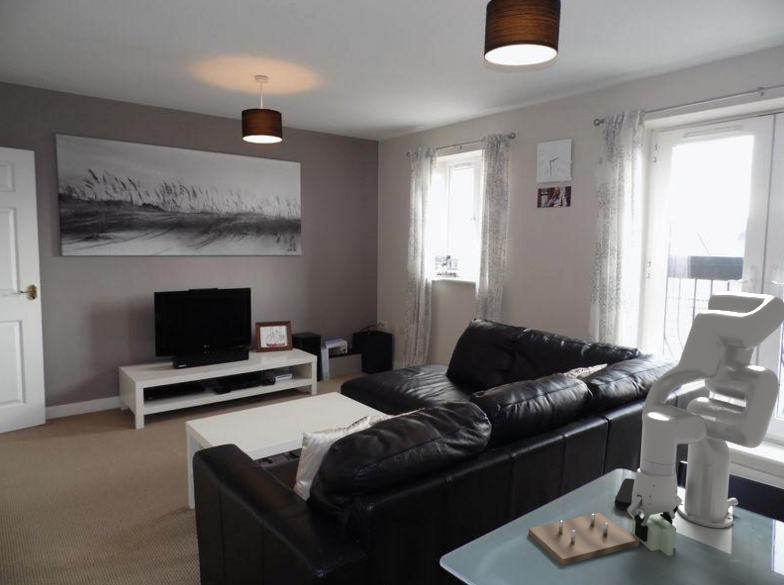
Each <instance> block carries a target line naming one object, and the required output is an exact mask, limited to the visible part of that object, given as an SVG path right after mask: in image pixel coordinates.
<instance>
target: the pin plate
mask: <svg viewBox="0 0 784 585" xmlns="http://www.w3.org/2000/svg"><path fill="white" fill-rule="evenodd" d="M527 534H528V535H529V536H530V537H531V538H532V539H533V541H535V542H537V543H538V545H540V546H541V547H542V548H543V549H544V550H545V551H546V552H548V554H550V556H552V557H553V558H554V560H556V561H557V562H558V563H559V564H560V565H562V566H565V565H569V564H573V563H577V562H581V561H585V560H589V559H592V558H596V557H600V556H603V555H609V554H611V553H616V552H619V551H620V552H621V551H623V550H626V549H631V548H634V547H635V548H636V547H639V546H640V541H639V539H637V538H636V537H635V536H634V535H633V534H632V533H630V532H629V531H628V530H626V529H625V528H623V527H621V526H620V525H619V524H617V523H616V522H614V521H613V520H611V519H610V518H609V517H607V516H606V515H604V514H603V513H601V512H597V513H594V512H591V513H590V514H587V515H583V516H578V517H574V518H570V519H565V520H561V519H560V520H559V521H556V522H551V523H547V524H544V525H539V526H534V527H529V528H528V533H527Z"/></svg>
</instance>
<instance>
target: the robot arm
mask: <svg viewBox="0 0 784 585" xmlns="http://www.w3.org/2000/svg"><path fill="white" fill-rule="evenodd" d="M783 322H784V301H783V299H781V298H780V297H778V296H776V295H771V294H770V295H769V294H761V293H752V292H751V293H750V292H749V293H748V292H742V291H741V292H740V291H719V292H718V291H717V292H715V293H713V294H711V295H710V296H709V299H708V303H707V310H703V311H700V312H698V313H697V314H696V315H695V317H694V319H693V321H692V323H691V327H690V328H689V329H690V330H689V333H688V336H687V337H686V340H685V344H684V347H683V350H682V353H681V355H680V359H679V361H678V363H677V364H676V365H675V366H674V367H672V368H670V369H669V370H667V371H666V372H664V373H663V374H662V375H661V376H660V377H659V378H658V379H656V380H655V381H654V383H653V384H652V385H651V387H650V388H649V391H648V394H647V395H646V398H645V402H644V405H643V408H642V412H641V413H642V414H641V421H642V429H641V442H640V443H641V447H640V463H639V468H637V471H636V474H635V477H634V479H635V480H634V486H633V493H632V504H631V505H630V506H629V507H628V509H627V510H626V511H627V513H628V514H629V516H630V517H631V518H632V519H634V521H636V522H635V536H636V537H638V538H639V539H641V540H642V541H644V542H646V541H647V533H648V526H647V525H646V523H647V521H648V519H649V517H650V515H654V514H659V515H660V516H662V517H663V518H664V519H665V520H667V521H668V522H669V523H671V524H672V525H673V523H674V521H673V520H674V519H675V518H676V516H675V514H676V513H677V512H678V513H679V514H680V515H681V516H682V517H683V518H684V519H686V520H688V521H689V522H692V523H694V524H697V525H701V526H703V527H709V528H715V529H716V528H717V529H722V528H724V529H725V528H728V527H731V526H732V525H733V523H734V518H733V515H732V513H730V512H729V509H730V508H731V507H735V506H737V505H738V504H739V501H738V499H737V498H736V497H730V498H728V496H729V482H730V470H731V460H732V459H731V458H732V456H731V451H730V447H729V445H728V443H731V444H734V445H737V446H740V447H743V448H744V447H745V448H748V449H755V448H757V447H759V446H761V444H762V443H763V441H764V440H765V437H766V434H767V431H768V428H769V426H770V421H771V418H772V416H773V412H774V409H775V406H776V402H777V399H778V396H779V390H780V382H779V378H778V375H777V374H776V373H775V372H774V371H773V370H772V369H770V368H768V367H764V366H761V365H756V364H751V359H752V357H753V353H754V350H755V348H756V347H757V346H759V345H761V343H763V342H764V341H765V340H766V339H767V338H768V337H769V336H771V335H772V334H773V333H774V332H775V331H777V330H778V329H779V328H780V327H781V325H782V324H783ZM702 381H704V386H705V388H706V389H707V390H708V391H709V392H711V393H712V394H715V395H718V396H721V397H725V398H729V399H734V400H736V401H741V402H745V406H743V405H739V404H736V403H731V402H728V401H725V400H720V399H717V398H713V397H706V396H699V397H696V398H693V399H692V400H690V402H689V403H688V404H687V408H686V409H683V408H680V407H677V406H673V405H672V404H671V405H670V404H667V403H666V402H667V401H668V398H669V396H670V395H671V394H672V393H673V391H675V390H676V389H677V388H679V387H681V386H683V385H687V384H691V383H695V382H702ZM678 445H688V446H687V461H686V462H687V463H686V475H685V476H686V477H685V490H684V492H685V493H684V499H682V498H681V497H680V496H679V495H678V478H677V472H676V468H677V467H676V466H677V454H678V453H677V452H678ZM643 509H644V510H643ZM641 513H643V514H644V516H643V519H642V518H641V517H640V516H641Z"/></svg>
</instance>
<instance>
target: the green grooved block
mask: <svg viewBox="0 0 784 585" xmlns="http://www.w3.org/2000/svg"><path fill="white" fill-rule="evenodd" d="M643 516H644V514H643V513H641V516H640V517H641V518H642V519H643ZM631 520H632V522H631V534H632V535H633V536H635V522H636V521H634V519H633V518H632V519H631ZM646 525H647V526H648V533H647V541H646V542H644V541H642V540H641V539H639V538H638V537H636V536H635V537H636V538H637V539H639V542H640V543H642V545H644V546H645V547H646V548H647V549H648V550H650V551H659V550H660V551H661V552H662V553H664V554H665V555H666V556H669V557H670V556H674V549H676V540H677V539H676V538H677V527H676V526H674V524H673V523H672V524H671V523H669V522H668V521H667V520H665V519H664V518H663V517H662V516H660V513H658V514H654V515H650V517H649V519H648V521H647V523H646Z"/></svg>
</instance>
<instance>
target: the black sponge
mask: <svg viewBox="0 0 784 585" xmlns="http://www.w3.org/2000/svg"><path fill="white" fill-rule="evenodd" d="M634 480H635V478H624V479H623V481H622V483H621V485H620V487H619V490H618V492H617V494H616V495H615V496H614V498H615V499H614V502H613V504H614V505H615V507H616V509H618V510H626V511H627V509H628V507H629V506H630V505H631V504H632V493H633V486H634ZM643 510H644V509H643Z"/></svg>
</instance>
